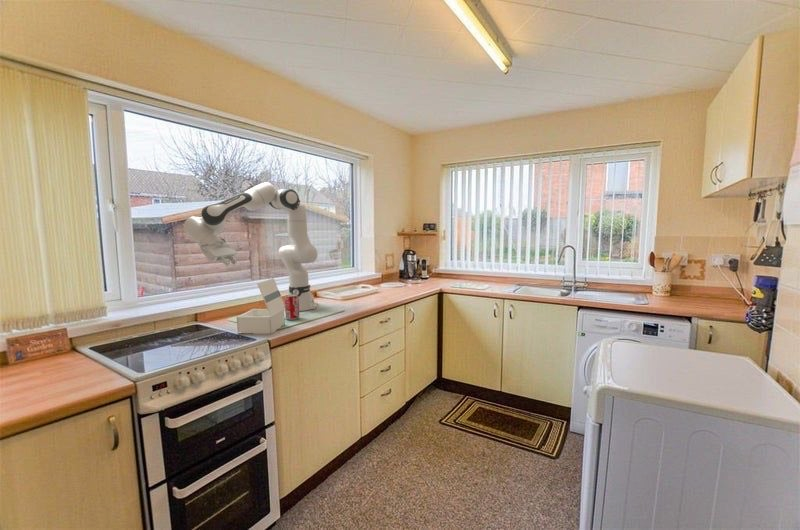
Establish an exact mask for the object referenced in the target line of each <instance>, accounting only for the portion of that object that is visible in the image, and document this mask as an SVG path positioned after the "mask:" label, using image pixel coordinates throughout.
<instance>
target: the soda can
mask: <svg viewBox="0 0 800 530" xmlns="http://www.w3.org/2000/svg"><path fill="white" fill-rule="evenodd" d="M288 294H289V293H288ZM288 294H286V295H285V297H284V305H285V307H286V308H285V309H284V314H285V319H286V320H287V319H288V320H287V321H295V320H294V319H296V320H298V319H299V318H300V311H299V299H298V296H297V294H289V295H288Z"/></svg>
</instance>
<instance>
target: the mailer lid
mask: <svg viewBox="0 0 800 530" xmlns="http://www.w3.org/2000/svg"><path fill="white" fill-rule="evenodd" d="M256 285H257V287H258V289H259V291H260V294H261V295H262V296H261V297H262V299H263V300H264V301H263V302H264V303H265V306H266V309H268V311H269V314H270V316H273V315H274V314H276V313H278V312H279V311H281V310H283V309H284V310H285V308H286V307H285V301H284V300H283V297H282V295H281V293H280V291H279V289H278V285H277V283H276V281H275V278H270V279H267V280H264V281H261V282H259V283H257V284H256Z"/></svg>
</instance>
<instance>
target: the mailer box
mask: <svg viewBox="0 0 800 530" xmlns="http://www.w3.org/2000/svg"><path fill="white" fill-rule="evenodd" d="M236 324H237V325H236V327H237V333H238V332H241V333H253V334H252V335H272V334H273V333H275V332H276V331H277V329H278V328H279V329H280V328H282V327H283V326H284V324H285V309H283V310H281V311H279V312H278V313H276V314H274V315H273V316H270V314H269V311H268V309H267V308H251V309H250V310H248V311H246V312H244V313H241V314H240V315H238V316H236ZM282 325H283V326H282ZM281 326H282V327H281ZM279 329H278V330H279Z"/></svg>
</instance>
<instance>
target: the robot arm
mask: <svg viewBox="0 0 800 530" xmlns="http://www.w3.org/2000/svg"><path fill="white" fill-rule="evenodd" d="M268 204H269V205H270V207H272V208H273V209H275V210H284V211H285V212H286V216H287V225H286V226H287V235H288V236H289V237H290V238H291V239H292V240H293V241H294V244H287V245H282V246H280V247H279V249H278V253H277V254H278V258H279V260H280V261H282V263H283V264H284V265H285V268H286V270H287V272H288V280H289V282H288V283H289V286H288V292H289V293H288V294H287V295H289V294H297V296H298V299H299V312H302V311H304V312H305V311H309V310H310V311H311V310H315V309H316V308H317V306H318V304H319V303H318V301H315V298H314V297H315V296H314V295H313V293H312V292H311V284H309V273H308V271H307V270H306V269H305V268H304V267H303V265H302V264H310V263H314V262H316V260H317V258H318V255H319V254H318V249H317V248H316V247H315V246H314V245H313V244H312V243H311V240H310V239H309V236H308V220H307V219H308V218H307V211H306V206H305V205H304V204H303V203H301V200H300V197H299V195H298V192H296V190H294V189H293V188H292V189H291V188H281V189H276V188H275V186H274V185H273V184H272V183H270V182H268V181H267V182H262V183H260V184H257V185H254V186H253V187H251V188H249V189H248V190H246V191H243V192H240V193H237V194H234V195H232V196H231V197H227V198H225V199H224V200H221V201H220V202H219V201H218V202H215V203H214V202H213V203H209V204H206V205H205V206H203V208H202V210H201V216H190V217H188V218H187V219H186V220H185V221H184V224H183V230H184V232H185V233H186V234H187V235H188V236H189V237H190V238H191V239H192V240H193V241H194V242H196V244H198V246H199V247H200V250H201V252H202V254H203V255H204V256H205V257H206V259H208V261H210V262H217V261H219V263H222V264H224V265H225V267H228V266H230V265H231V264H232V265H236V264H237V263H238V261H237V260H236V259H235V257H236V256H237V255H238V252H237V251H236V250H235V248H234V247H232V245H230V244H229V243H228V240H226V238H222V237H220V236H217V235H220V234H221V233H224V231H225V230H226V227H227V222H226V221H227V220H226V218H227V216H228V215H229V214H230V213H232V212H233V211H236V210H237V209H239V208H241V207H242V208H245V210H248V211H252V212H255V211H258V210H260V209H261V208H263V207H265V206H266V205H268ZM228 260H229V261H228Z"/></svg>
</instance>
